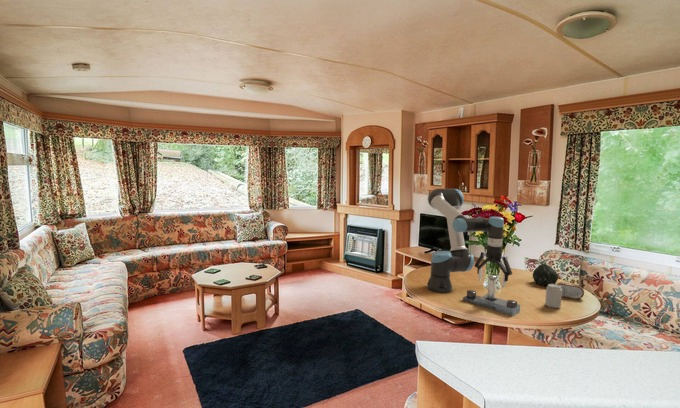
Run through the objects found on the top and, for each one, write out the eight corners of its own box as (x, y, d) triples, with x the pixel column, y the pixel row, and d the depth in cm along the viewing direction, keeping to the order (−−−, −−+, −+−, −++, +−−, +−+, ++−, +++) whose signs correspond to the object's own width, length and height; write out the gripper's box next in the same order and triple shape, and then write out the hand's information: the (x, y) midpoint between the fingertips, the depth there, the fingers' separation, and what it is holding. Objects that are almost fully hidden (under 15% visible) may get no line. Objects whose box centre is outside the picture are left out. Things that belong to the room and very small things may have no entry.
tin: (583, 299, 218) (584, 285, 217) (583, 300, 215) (585, 286, 214) (554, 294, 225) (555, 280, 225) (553, 295, 223) (555, 282, 222)
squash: (560, 275, 247) (544, 257, 249) (564, 282, 233) (548, 263, 235) (541, 286, 252) (526, 269, 254) (544, 294, 238) (528, 275, 240)
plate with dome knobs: (463, 300, 211) (463, 290, 210) (471, 297, 217) (471, 287, 216) (512, 316, 190) (513, 305, 189) (519, 312, 196) (520, 301, 195)
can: (552, 309, 201) (554, 288, 200) (541, 304, 208) (543, 283, 207) (563, 308, 203) (565, 287, 202) (552, 303, 210) (554, 282, 209)
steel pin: (484, 305, 204) (486, 275, 202) (488, 303, 207) (490, 274, 205) (492, 308, 200) (494, 277, 198) (496, 306, 203) (498, 276, 201)
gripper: (469, 242, 207) (467, 278, 209) (514, 250, 188) (511, 291, 190) (476, 240, 212) (474, 276, 214) (521, 248, 193) (517, 288, 195)
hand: (491, 283), depth 202 cm, fingers open, 13 cm apart
